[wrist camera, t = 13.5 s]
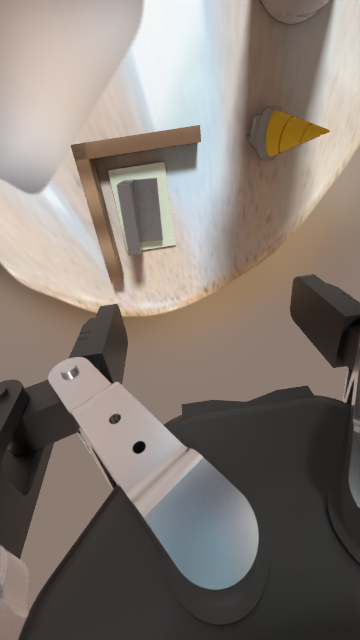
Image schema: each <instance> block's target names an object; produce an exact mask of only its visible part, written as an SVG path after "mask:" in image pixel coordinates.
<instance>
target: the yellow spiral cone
mask: <svg viewBox="0 0 360 640" xmlns="http://www.w3.org/2000/svg"><path fill="white" fill-rule="evenodd" d="M328 132H329V130H328V129H325V128H323V127H320V126H317V125H315V124H312V123H310V122H307V121H304V120H302V119H299V118H297V117H294V116H291V115H289V114H286V113H284V112H282V111H281V109H280V107H278V106H274V107H268V108H266V109H265V111H264V112H263V114H262V115H254V119H253V124H252V128H251V132H250V135H247V136H246V137H247V139H248V140H249V141H250V143H251V144H252V145H253V147H254V148H255V149H256V151H257V152H258V155H259V157H260V159H261V160H272V159H273V158H274V157H275V156H276V154H279V153H281V152H283V151H286V150H288V149H290V148H293V147H295V146H297V145H299V143H301V144H302V143H305V142H307V141H309V140H312V139H314V138H316V137H319V136H320V135H321V134H322V135H323V134H326V133H328Z"/></svg>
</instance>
